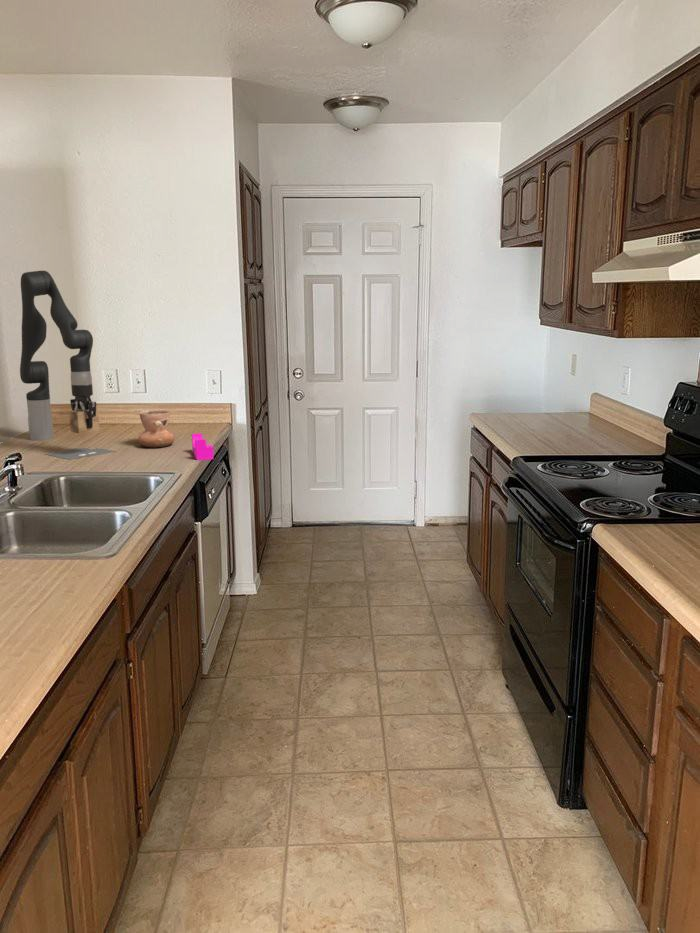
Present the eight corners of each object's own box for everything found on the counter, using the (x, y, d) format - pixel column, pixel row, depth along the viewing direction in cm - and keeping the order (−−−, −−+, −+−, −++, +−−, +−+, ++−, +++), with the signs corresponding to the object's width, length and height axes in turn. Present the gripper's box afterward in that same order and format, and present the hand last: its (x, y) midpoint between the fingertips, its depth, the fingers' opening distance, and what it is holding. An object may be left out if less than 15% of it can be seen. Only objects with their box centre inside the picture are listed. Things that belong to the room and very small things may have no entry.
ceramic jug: (178, 448, 298) (176, 413, 295) (141, 451, 293) (139, 415, 290) (170, 441, 314) (168, 407, 311) (135, 443, 309) (133, 409, 306)
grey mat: (44, 454, 287) (44, 454, 287) (90, 446, 302) (90, 446, 302) (69, 459, 277) (69, 459, 277) (115, 451, 292) (115, 451, 292)
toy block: (213, 459, 278) (212, 439, 276) (196, 460, 276) (195, 440, 275) (208, 451, 292) (207, 432, 290) (192, 452, 290) (191, 433, 289)
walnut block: (70, 431, 283) (69, 411, 282) (91, 428, 290) (89, 408, 289) (79, 433, 280) (77, 412, 278) (99, 430, 287) (98, 409, 285)
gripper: (62, 382, 283) (65, 426, 286) (83, 385, 274) (87, 430, 278) (79, 381, 288) (82, 424, 292) (101, 383, 280) (104, 427, 284)
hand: (85, 426), depth 285 cm, fingers closed on walnut block, 5 cm apart
